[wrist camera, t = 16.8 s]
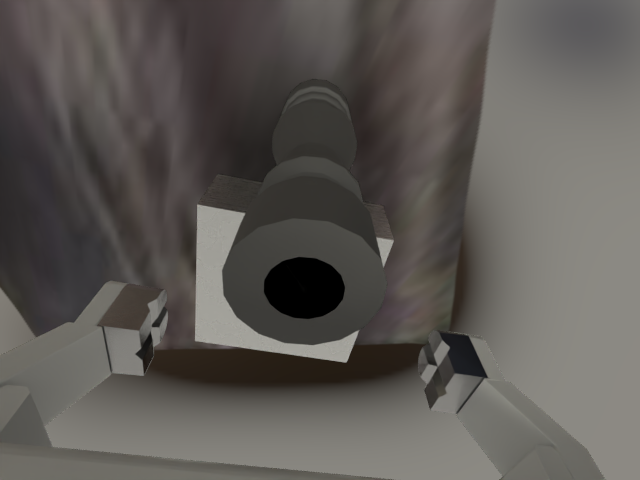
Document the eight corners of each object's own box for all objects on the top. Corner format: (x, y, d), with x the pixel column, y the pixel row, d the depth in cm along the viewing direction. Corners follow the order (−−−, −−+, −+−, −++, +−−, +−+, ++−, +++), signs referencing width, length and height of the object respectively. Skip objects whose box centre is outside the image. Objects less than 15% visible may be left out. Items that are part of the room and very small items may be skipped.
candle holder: (271, 100, 32) (174, 259, 11) (330, 65, 31) (346, 175, 10) (304, 157, 35) (275, 367, 14) (359, 128, 34) (420, 317, 13)
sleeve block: (211, 299, 46) (195, 340, 40) (217, 173, 36) (197, 204, 30) (343, 319, 48) (346, 362, 42) (383, 205, 38) (393, 240, 32)
